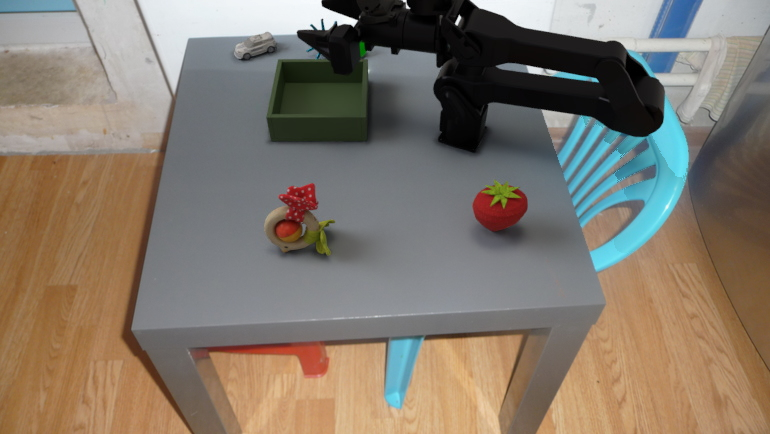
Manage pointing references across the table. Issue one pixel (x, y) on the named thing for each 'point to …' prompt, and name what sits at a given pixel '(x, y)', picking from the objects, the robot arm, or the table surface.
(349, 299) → the table surface
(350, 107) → the bin
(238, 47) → the toy car
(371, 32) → the robot arm
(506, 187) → the strawberry
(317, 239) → the bird rattle
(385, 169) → the table surface
